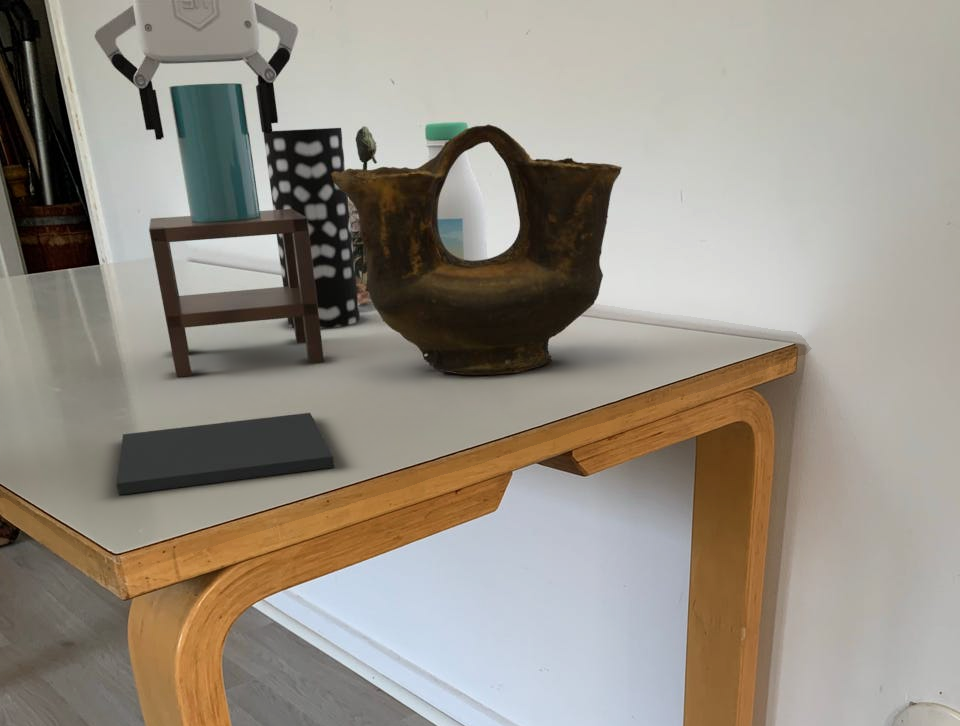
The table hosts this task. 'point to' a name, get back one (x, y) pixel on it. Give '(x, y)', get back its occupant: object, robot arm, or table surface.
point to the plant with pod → (365, 153)
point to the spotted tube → (317, 214)
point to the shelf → (244, 303)
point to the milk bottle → (458, 199)
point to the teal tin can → (215, 151)
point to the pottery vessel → (490, 282)
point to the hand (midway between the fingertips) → (214, 136)
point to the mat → (221, 453)
